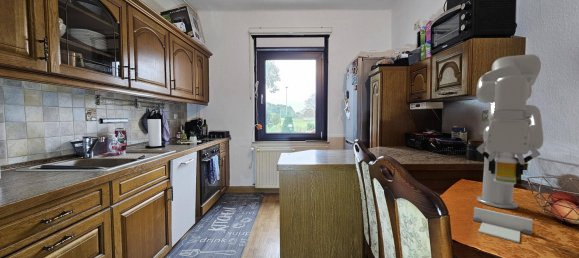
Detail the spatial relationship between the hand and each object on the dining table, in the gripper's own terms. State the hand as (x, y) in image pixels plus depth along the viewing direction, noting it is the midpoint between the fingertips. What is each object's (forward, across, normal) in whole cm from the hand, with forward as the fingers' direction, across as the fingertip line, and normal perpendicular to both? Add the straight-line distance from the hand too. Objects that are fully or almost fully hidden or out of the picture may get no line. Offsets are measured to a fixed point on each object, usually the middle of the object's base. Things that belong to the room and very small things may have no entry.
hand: (504, 174), depth 79 cm
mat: (+16, 0, +6) cm, 18 cm away
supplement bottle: (+3, 0, 0) cm, 3 cm away
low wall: (+16, 0, 0) cm, 16 cm away
